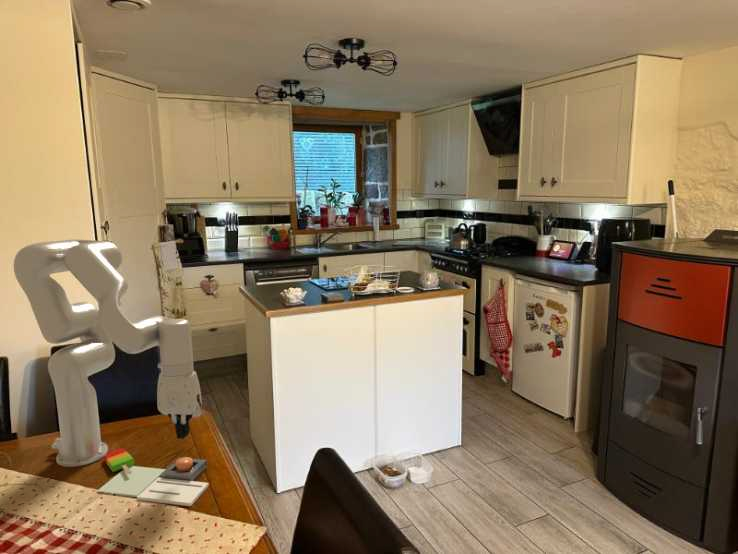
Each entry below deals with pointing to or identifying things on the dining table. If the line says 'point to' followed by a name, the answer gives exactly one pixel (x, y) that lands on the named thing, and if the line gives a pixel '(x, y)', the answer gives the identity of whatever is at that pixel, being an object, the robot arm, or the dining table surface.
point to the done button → (184, 464)
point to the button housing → (188, 476)
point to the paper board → (173, 491)
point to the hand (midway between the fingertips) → (183, 436)
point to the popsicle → (119, 460)
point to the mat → (132, 481)
